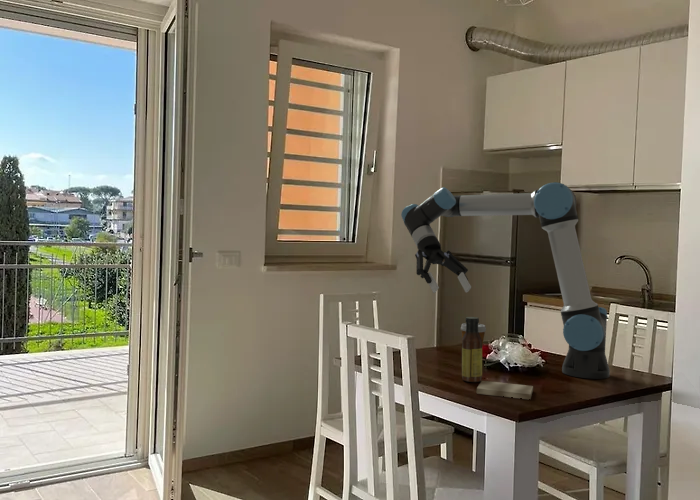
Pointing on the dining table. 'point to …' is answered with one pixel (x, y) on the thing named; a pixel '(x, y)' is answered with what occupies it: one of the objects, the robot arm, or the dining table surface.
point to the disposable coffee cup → (480, 329)
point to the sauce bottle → (472, 352)
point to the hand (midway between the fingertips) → (452, 290)
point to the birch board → (505, 389)
